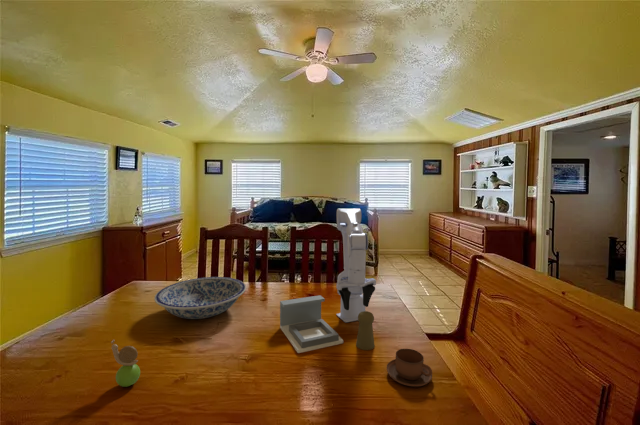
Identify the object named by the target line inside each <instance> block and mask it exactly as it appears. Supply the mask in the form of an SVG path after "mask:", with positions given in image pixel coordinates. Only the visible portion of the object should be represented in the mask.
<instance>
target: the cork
mask: <svg viewBox="0 0 640 425" xmlns="http://www.w3.org/2000/svg"><path fill="white" fill-rule="evenodd" d="M374 320H375V316H374V314H373V312H371V311H367V310H365V311H363V312H360V313H359V315H358V320H357V321H358V322H359V324H358V331H357V337H356V343H355V344H356V345H355V346H356V347H357V349H360V350H362V351H370V350H374V348H375V337H374V329H373V328H374V327H373V323H374V322H375V321H374Z"/></svg>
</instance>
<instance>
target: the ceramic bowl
mask: <svg viewBox="0 0 640 425" xmlns="http://www.w3.org/2000/svg"><path fill="white" fill-rule="evenodd" d="M246 289H247V286H246V284H245V282H243V281H242V280H241V279H240V280H239V279H237V278H233V277H226V276H206V277H198V278H192V279H186V280H182V281H178V282H176V283H172V284H169V285H167V286H166V287H163V288H161V289H160V290H159V291H158V292H157V293H156V294H155V296H154V302H155V304H156V305H158V306H160V307H162V308H164V310H166V311H167V312H168V313H170V314H171V315H173V316H176V317H178V318H181V319H187V320H201V319H207V318H212V317H215V316H218V315H220V314H222V313H224V312H226V311H228V309H230V308H231V307H232V306H233V305H234V304H235V303H236V302H237V301H238V299H239V297H241V296H243V294H244V293H245V292H246Z"/></svg>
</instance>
